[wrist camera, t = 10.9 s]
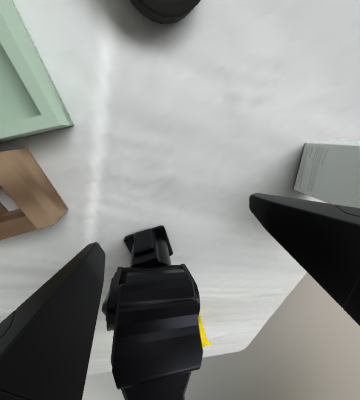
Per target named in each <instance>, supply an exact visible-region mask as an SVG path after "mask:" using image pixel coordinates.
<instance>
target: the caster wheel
mask: <svg viewBox="0 0 360 400" xmlns="http://www.w3.org/2000/svg"><path fill="white" fill-rule="evenodd" d="M130 1H131V2H132V3H133V5H134V6H135V7H136V8H137V9H138V10H139V11H140V12H141V13H142V14H143V15H144V16H146V17H147V18H149V19H151V20H152V21H155V22H158V23H161V24H170V23H174V22H177V21H179V20H180V19H182V18H184V17H185V16H186V15H187V14H188V13H189V12H190V11H191V10H192V9H193V8H194V7H195V6H196V5H197V4H198V3H199V2H200V0H130Z"/></svg>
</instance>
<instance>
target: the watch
mask: <svg viewBox="0 0 360 400" xmlns="http://www.w3.org/2000/svg"><path fill="white" fill-rule="evenodd" d="M198 321H199V329H200V336H201V342H202V347H203V351H207V350H209V349H210V348H211V347H212V344H211V342H208V341H207V338H206V334H205V331H204V328H203V324H202V321H201V318H200V316H198Z"/></svg>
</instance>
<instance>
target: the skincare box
mask: <svg viewBox="0 0 360 400" xmlns="http://www.w3.org/2000/svg"><path fill="white" fill-rule="evenodd" d="M294 190H296V191H298V192H301V193H303V194H306V195H309V196H311V197H314V198H316V199H319V200H322V201H324V202H327V203H329V204H333V205H342V206H349V207H357V208H360V140H349V139H333V140H325V141H317V142H309V143H305V147H304V151H303V155H302V159H301V163H300V167H299V171H298V175H297V179H296V183H295V186H294Z"/></svg>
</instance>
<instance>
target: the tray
mask: <svg viewBox="0 0 360 400" xmlns="http://www.w3.org/2000/svg"><path fill="white" fill-rule="evenodd" d="M70 126H74V124H73V122H72V120H71V118H70V116H69V114H68V112H67V110H66V108H65V106H64V104H63V102H62V100H61V98H60V96H59V94H58V92H57V90H56V88H55V86H54V84H53V81H52V79H51V77H50V75H49V73H48V71H47V69H46V67H45V65H44V63H43V61H42V59H41V57H40V55H39V53H38V51H37V49H36V47H35V45H34V43H33V41H32V39H31V37H30V35H29V33H28V31H27V29H26V27H25V25H24V23H23V21H22V19H21V17H20V15H19V13H18V11H17V9H16V7H15V5H14V3H13V0H0V142H5V141H9V140H13V139H18V138H22V137H26V136H31V135H35V134H39V133H44V132H48V131H52V130H57V129H61V128H66V127H70Z"/></svg>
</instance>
